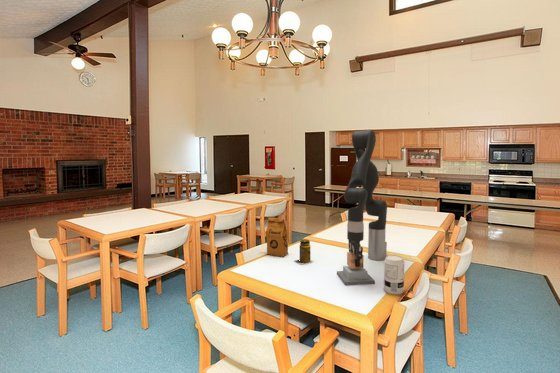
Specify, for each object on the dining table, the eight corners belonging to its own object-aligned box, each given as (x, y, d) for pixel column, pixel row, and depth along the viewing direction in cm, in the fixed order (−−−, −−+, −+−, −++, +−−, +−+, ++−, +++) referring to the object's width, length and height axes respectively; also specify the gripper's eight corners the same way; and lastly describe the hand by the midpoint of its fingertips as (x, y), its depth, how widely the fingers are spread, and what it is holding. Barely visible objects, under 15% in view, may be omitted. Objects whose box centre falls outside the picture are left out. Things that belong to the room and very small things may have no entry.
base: (363, 272, 169) (364, 263, 169) (374, 283, 155) (374, 273, 155) (336, 274, 168) (336, 264, 167) (345, 285, 154) (345, 274, 153)
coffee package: (282, 258, 193) (281, 220, 191) (264, 255, 199) (263, 218, 197) (290, 253, 202) (290, 217, 199) (273, 250, 208) (272, 215, 205)
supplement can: (380, 287, 151) (381, 255, 149) (398, 287, 151) (399, 254, 150) (388, 295, 143) (388, 261, 141) (406, 294, 143) (407, 260, 141)
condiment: (313, 261, 186) (313, 240, 185) (301, 265, 182) (301, 243, 180) (305, 258, 192) (305, 238, 191) (293, 261, 188) (293, 240, 186)
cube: (359, 263, 164) (359, 251, 163) (363, 267, 158) (363, 255, 157) (347, 264, 163) (347, 252, 163) (351, 268, 157) (351, 256, 157)
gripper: (368, 233, 152) (368, 269, 154) (358, 226, 166) (357, 259, 168) (352, 234, 151) (352, 270, 153) (343, 226, 165) (343, 259, 167)
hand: (355, 264), depth 161 cm, fingers closed on cube, 6 cm apart
